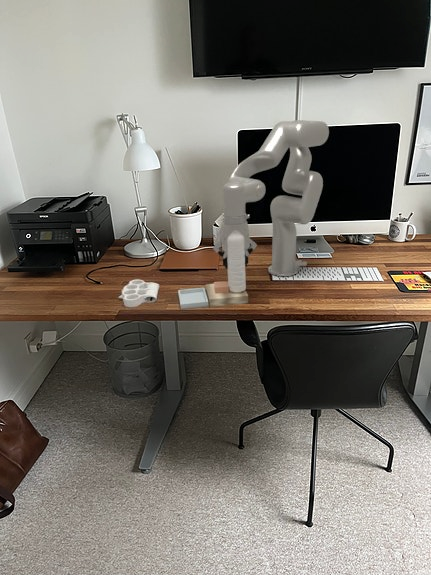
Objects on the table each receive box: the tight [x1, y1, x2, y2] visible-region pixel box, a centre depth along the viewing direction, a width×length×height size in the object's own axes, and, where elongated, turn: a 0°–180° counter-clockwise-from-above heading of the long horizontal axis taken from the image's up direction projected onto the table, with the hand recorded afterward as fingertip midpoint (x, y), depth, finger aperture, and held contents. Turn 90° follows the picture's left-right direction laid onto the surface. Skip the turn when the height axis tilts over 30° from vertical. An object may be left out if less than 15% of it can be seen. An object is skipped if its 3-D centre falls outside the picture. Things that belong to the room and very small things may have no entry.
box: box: [177, 287, 210, 310], centre depth 167 cm, size 10×12×2 cm
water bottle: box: [227, 230, 247, 292], centre depth 162 cm, size 9×6×25 cm
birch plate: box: [204, 283, 249, 308], centre depth 168 cm, size 14×13×3 cm
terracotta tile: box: [213, 280, 229, 294], centre depth 167 cm, size 5×5×2 cm
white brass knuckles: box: [118, 279, 160, 308], centre depth 172 cm, size 3×18×15 cm
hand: (235, 266), depth 164 cm, fingers closed on water bottle, 6 cm apart
